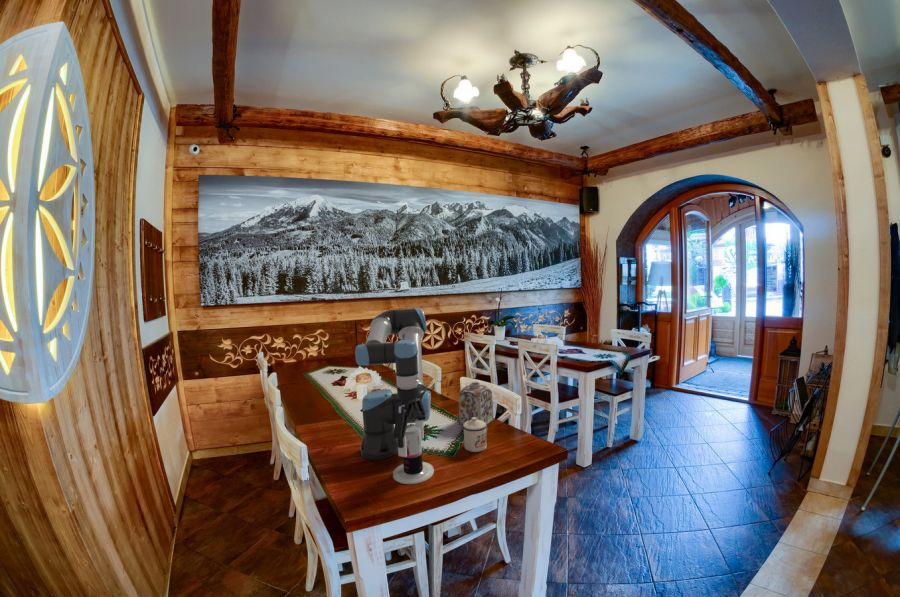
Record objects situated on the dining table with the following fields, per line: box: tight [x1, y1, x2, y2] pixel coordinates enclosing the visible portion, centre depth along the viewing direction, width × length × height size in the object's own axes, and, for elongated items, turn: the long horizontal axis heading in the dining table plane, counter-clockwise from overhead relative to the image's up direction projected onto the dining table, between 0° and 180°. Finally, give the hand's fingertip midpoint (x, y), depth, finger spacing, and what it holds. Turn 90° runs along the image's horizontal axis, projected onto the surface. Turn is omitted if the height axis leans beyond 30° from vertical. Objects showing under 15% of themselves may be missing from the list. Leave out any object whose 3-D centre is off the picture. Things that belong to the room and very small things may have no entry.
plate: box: [392, 461, 435, 485], centre depth 128 cm, size 14×14×1 cm
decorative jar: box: [458, 381, 494, 426], centre depth 170 cm, size 12×12×18 cm
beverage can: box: [402, 424, 424, 475], centre depth 128 cm, size 7×7×15 cm
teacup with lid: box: [462, 417, 488, 453], centre depth 146 cm, size 12×9×12 cm
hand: (411, 446), depth 128 cm, fingers open, 13 cm apart
